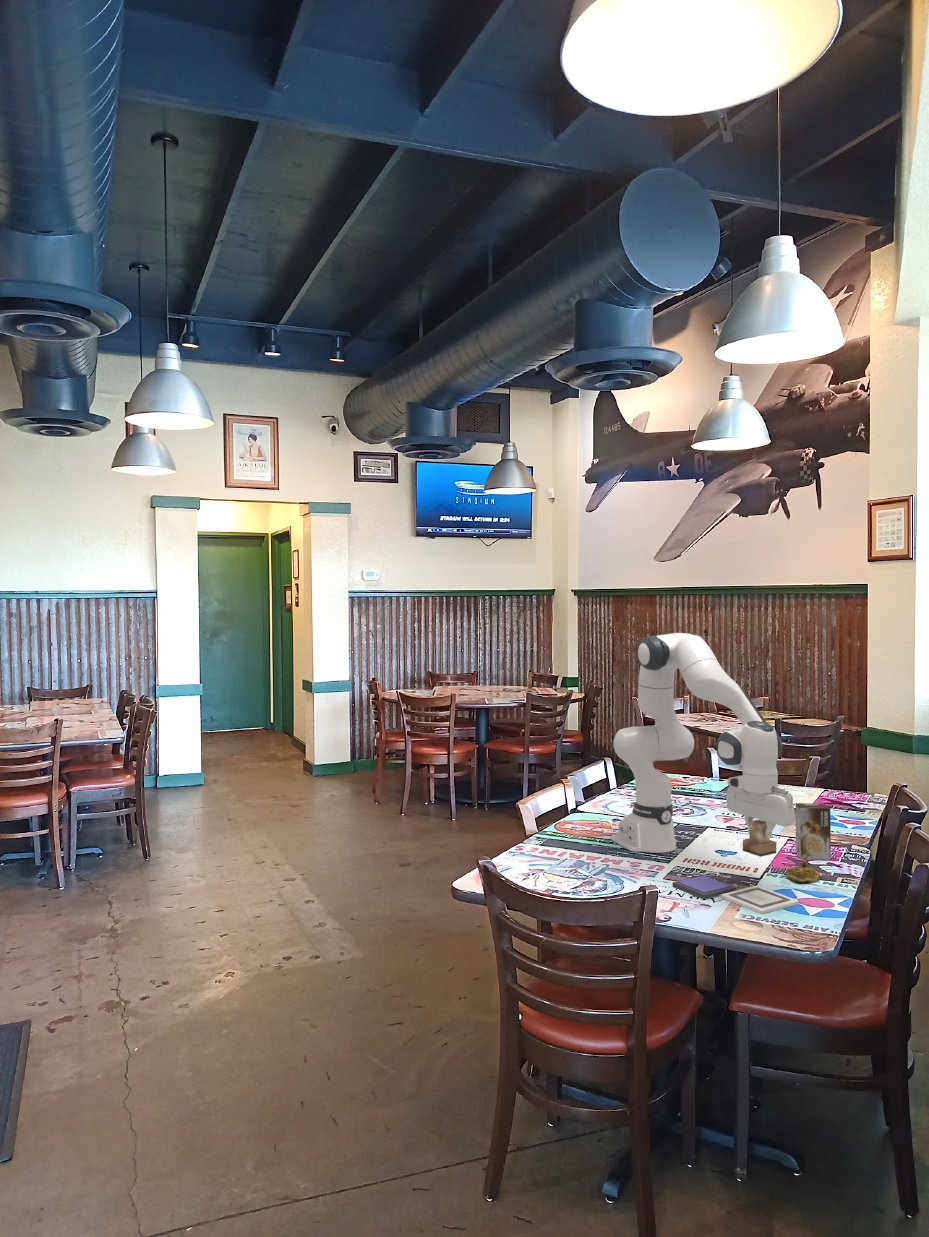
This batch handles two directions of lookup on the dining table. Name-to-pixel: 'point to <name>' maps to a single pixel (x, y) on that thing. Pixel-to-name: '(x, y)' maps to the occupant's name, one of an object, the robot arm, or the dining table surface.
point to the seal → (803, 874)
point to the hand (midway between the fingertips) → (759, 835)
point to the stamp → (758, 840)
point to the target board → (759, 899)
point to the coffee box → (813, 831)
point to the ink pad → (704, 887)
